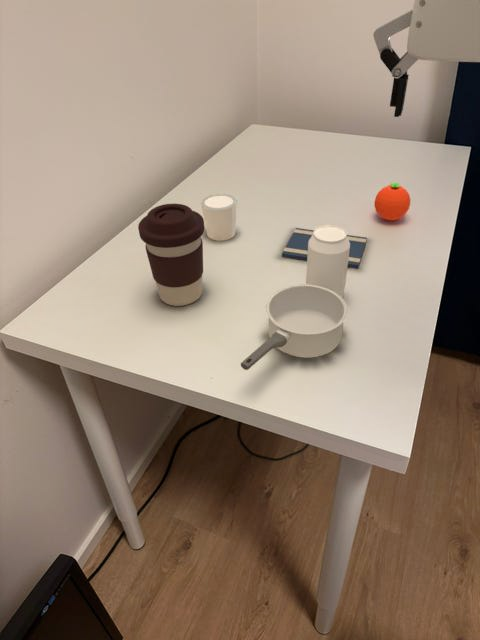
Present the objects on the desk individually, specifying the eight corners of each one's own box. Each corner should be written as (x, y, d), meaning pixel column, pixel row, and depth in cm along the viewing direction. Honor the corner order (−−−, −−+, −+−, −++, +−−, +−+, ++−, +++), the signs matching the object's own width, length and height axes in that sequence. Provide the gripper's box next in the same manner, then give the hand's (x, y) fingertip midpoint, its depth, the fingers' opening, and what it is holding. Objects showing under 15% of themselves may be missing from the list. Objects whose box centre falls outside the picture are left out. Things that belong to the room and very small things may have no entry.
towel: (366, 241, 93) (367, 237, 92) (358, 268, 85) (358, 264, 85) (295, 231, 97) (295, 227, 96) (281, 257, 89) (281, 252, 89)
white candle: (229, 222, 101) (227, 190, 96) (244, 236, 96) (243, 204, 91) (198, 230, 98) (195, 198, 94) (212, 245, 93) (209, 212, 89)
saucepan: (212, 376, 67) (209, 346, 63) (293, 304, 78) (294, 275, 75) (281, 415, 61) (282, 385, 57) (357, 331, 73) (362, 301, 69)
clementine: (371, 207, 103) (376, 175, 99) (405, 209, 102) (412, 176, 98) (372, 225, 97) (377, 192, 93) (408, 227, 96) (415, 193, 92)
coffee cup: (220, 299, 80) (214, 217, 70) (165, 319, 76) (150, 236, 67) (195, 271, 87) (186, 193, 77) (143, 288, 83) (127, 208, 74)
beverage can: (350, 304, 78) (358, 238, 70) (314, 312, 76) (319, 246, 69) (333, 283, 82) (339, 219, 75) (299, 290, 81) (302, 226, 73)
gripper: (587, -86, 44) (524, 111, 55) (391, -77, 49) (369, 102, 60) (604, -85, 39) (530, 133, 49) (382, -75, 44) (359, 121, 54)
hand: (442, 116), depth 55 cm, fingers open, 9 cm apart
